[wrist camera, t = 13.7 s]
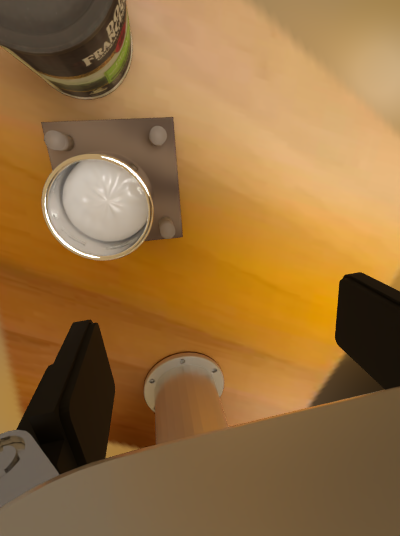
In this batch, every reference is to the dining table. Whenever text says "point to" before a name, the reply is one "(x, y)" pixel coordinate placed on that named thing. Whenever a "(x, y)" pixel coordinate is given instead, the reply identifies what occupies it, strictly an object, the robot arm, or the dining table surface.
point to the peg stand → (135, 148)
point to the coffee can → (70, 42)
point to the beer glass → (99, 205)
